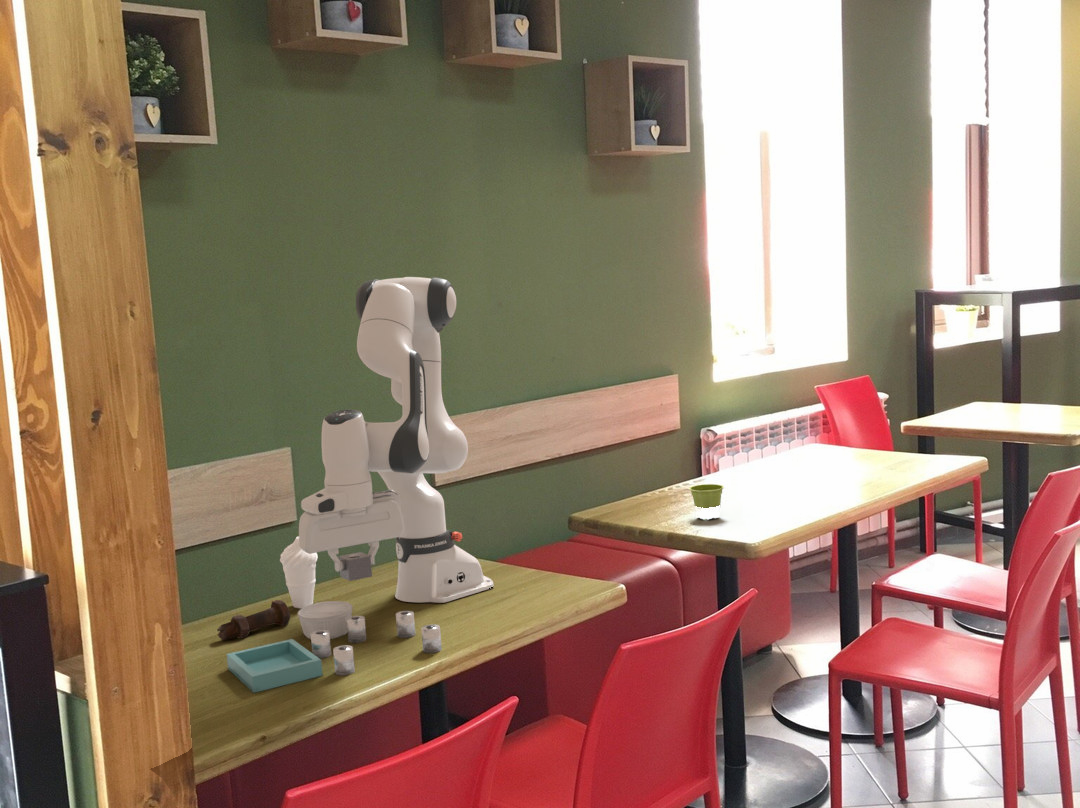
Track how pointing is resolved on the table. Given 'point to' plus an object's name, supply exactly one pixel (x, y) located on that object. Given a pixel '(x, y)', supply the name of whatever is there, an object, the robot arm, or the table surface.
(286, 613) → the bolt
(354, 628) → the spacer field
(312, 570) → the soft serve ice cream cone
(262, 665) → the tray
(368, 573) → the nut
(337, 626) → the ramekin
